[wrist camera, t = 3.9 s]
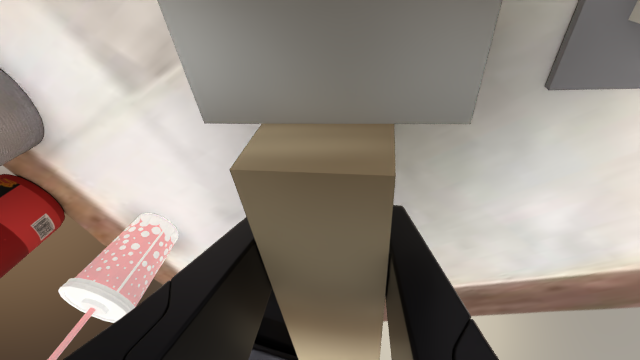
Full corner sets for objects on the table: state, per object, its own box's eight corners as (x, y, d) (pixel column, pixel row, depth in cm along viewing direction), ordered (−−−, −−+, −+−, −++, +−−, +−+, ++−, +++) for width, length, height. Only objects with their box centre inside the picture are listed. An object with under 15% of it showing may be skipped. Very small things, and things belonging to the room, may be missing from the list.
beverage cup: (120, 216, 31) (-17, 356, 21) (151, 200, 29) (11, 352, 18) (164, 250, 34) (63, 388, 24) (196, 238, 31) (98, 389, 21)
